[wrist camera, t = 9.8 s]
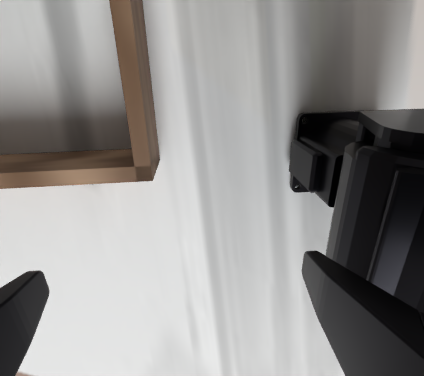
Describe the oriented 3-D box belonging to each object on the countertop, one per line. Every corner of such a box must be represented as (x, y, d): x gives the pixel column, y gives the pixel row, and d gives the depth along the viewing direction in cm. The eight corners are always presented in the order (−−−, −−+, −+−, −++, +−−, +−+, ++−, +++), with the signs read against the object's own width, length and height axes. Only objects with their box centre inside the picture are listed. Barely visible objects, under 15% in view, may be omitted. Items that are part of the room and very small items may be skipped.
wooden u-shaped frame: (141, -9, 16) (125, -36, 12) (159, 159, 21) (152, 180, 17) (-135, -7, 16) (-249, -34, 11) (-54, 170, 20) (-116, 194, 16)
